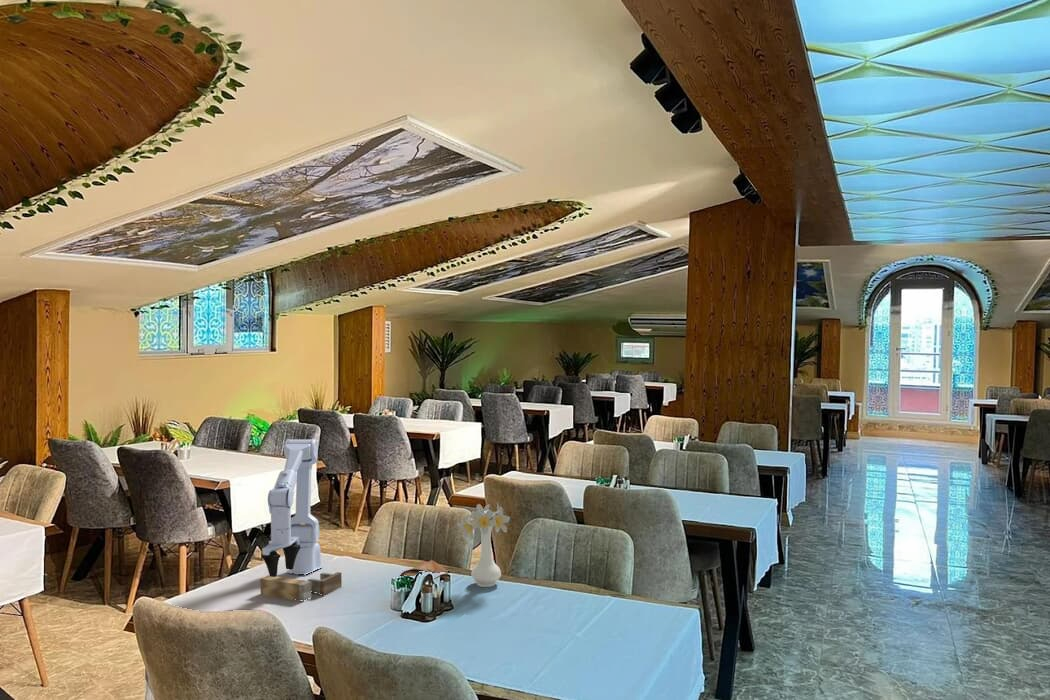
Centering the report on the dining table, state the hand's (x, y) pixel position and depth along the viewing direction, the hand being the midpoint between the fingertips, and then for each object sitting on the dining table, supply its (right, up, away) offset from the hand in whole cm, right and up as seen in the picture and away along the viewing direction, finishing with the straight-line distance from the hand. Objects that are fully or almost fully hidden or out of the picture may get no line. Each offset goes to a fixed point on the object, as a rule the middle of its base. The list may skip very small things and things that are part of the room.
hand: (281, 572), depth 244 cm
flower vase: (+61, -7, +10) cm, 62 cm away
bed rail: (+1, -7, 0) cm, 7 cm away
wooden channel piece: (+11, -7, +6) cm, 14 cm away
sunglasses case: (+41, -7, +18) cm, 46 cm away
